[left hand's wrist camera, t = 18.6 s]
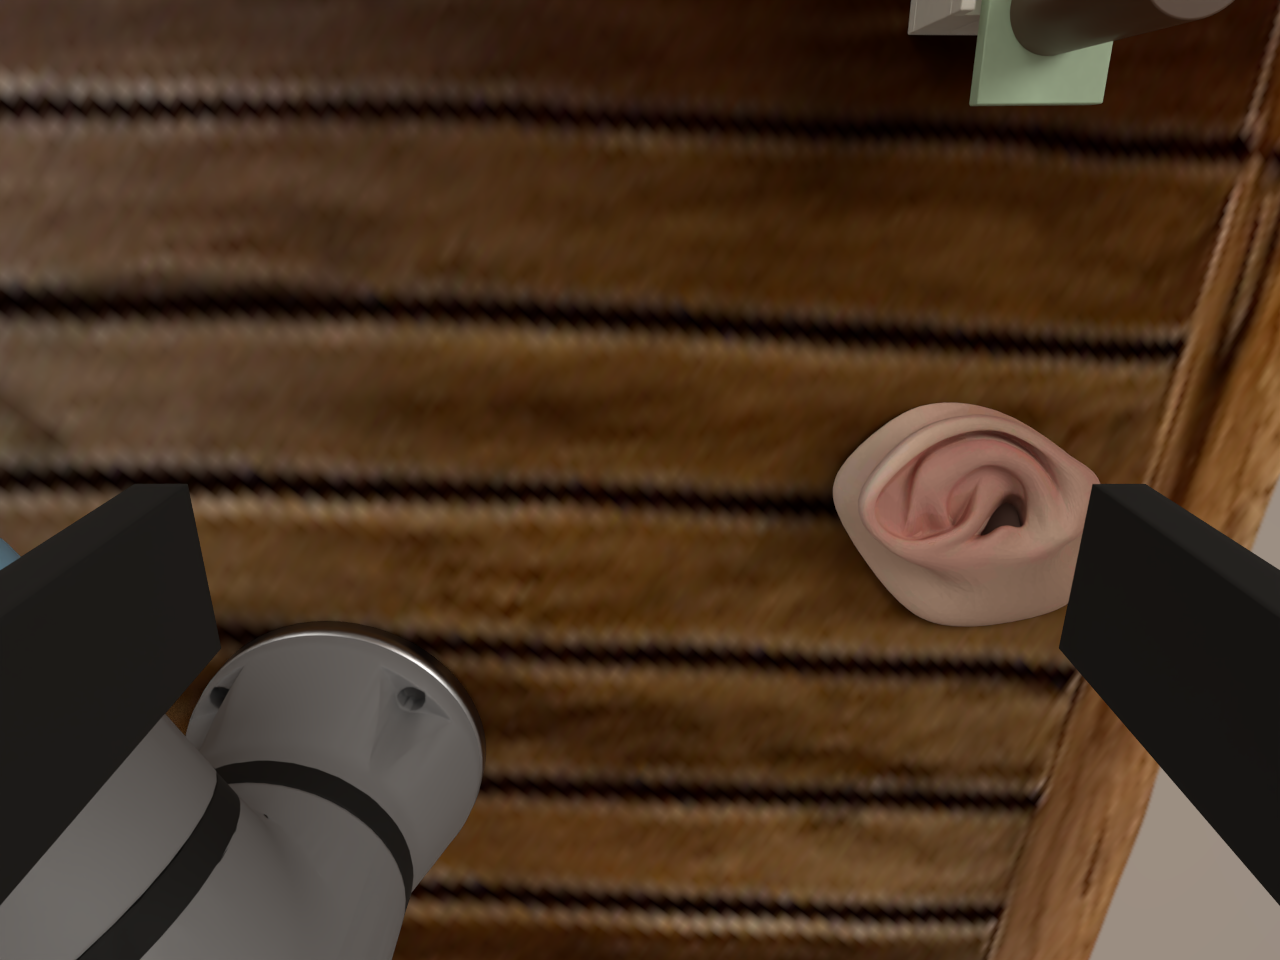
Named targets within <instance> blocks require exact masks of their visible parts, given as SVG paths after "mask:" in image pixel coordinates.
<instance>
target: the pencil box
mask: <svg viewBox="0 0 1280 960" xmlns="http://www.w3.org/2000/svg"><path fill="white" fill-rule="evenodd" d="M981 3H982V0H911V8H910V17H909V27H908V34H909V35H978V28H979V20H980V11H981Z"/></svg>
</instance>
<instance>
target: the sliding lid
mask: <svg viewBox="0 0 1280 960" xmlns="http://www.w3.org/2000/svg"><path fill="white" fill-rule="evenodd" d="M1233 1H1234V0H982V3H981V11H980V20H979V28H978V36H977V45H976V53H975V61H974V70H973V78H972V86H971V95H970V103H969V105H970V106H1022V105H1094V104H1101V103H1102V102H1103V96H1104V91H1105V85H1106V79H1107V73H1108V67H1109V61H1110V56H1111V50H1112V44H1113V41H1115V40H1119V39H1123V38H1127V37H1131V36H1135V35H1139V34H1143V33H1147V32H1151V31H1155V30H1159V29H1163V28H1167V27H1171V26H1175V25H1179V24H1183V23H1187V22H1191V21H1195V20H1199V19H1203V18H1206V17H1209V16H1212V15H1214V14H1216V13H1218V12H1220V11H1221V10H1223V9H1224V8H1226V7H1227V6H1228V5H1229V4H1231V3H1232V2H1233Z"/></svg>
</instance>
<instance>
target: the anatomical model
mask: <svg viewBox="0 0 1280 960" xmlns="http://www.w3.org/2000/svg"><path fill="white" fill-rule="evenodd" d="M1092 484H1100V482H1099V480H1098V478H1097V476H1096V475H1095V474H1094V472H1093V471H1091V470H1090V469H1089V468H1088V467H1087V466H1085V465H1084V464H1082V463H1081V462H1079V461H1078V460H1076V459H1074V458H1073V457H1071V456H1070V455H1068V454H1067V453H1066V452H1065V451H1064V450H1062V449H1061V448H1060V447H1058V446H1057V445H1056V444H1054V443H1053V442H1051V441H1050V440H1049V439H1047V438H1046V437H1045V436H1043V435H1042V434H1040V433H1038V432H1037V431H1035V430H1034V429H1032V428H1031V427H1029V426H1027V425H1026V424H1024V423H1022V422H1020V421H1018V420H1017V419H1015V418H1013V417H1010V416H1008V415H1006V414H1003V413H1001V412H998V411H996V410H993V409H989V408H985V407H982V406H977V405H971V404H964V403H936V404H929V405H924V406H920V407H917V408H914V409H911V410H909V411H907V412H905V413H903V414H901V415H899V416H898V417H896V418H894V419H893V420H891V421H889V422H888V423H887V424H885V425H884V426H883V427H881V428H880V429H879V430H877V431H876V432H875V433H874V434H872V435H871V436H870V437H869V438H868V439H867V440H865V441H864V442H863V443H862V444H861V445H860V446H859V447H858V448H857V449H856V450H855V451H854V452H853V453H852V454H851V455H850V456H849V457H848V459H847V460H846V461H845V463H844V464H843V465H842V467H841V468H840V470H839V472H838V473H837V476H836V478H835V481H834V486H833V500H834V504H835V508H836V510H837V513H838V515H839V517H840V520H841V522H842V524H843V526H844V528H845V529H846V531H847V533H848V535H849V536H850V538H851V540H852V541H853V543H854V545H855V546H856V548H857V549H858V551H859V552H860V554H861V555H862V557H863V558H864V560H865V561H866V562H867V564H868V565H869V567H870V568H871V569H872V571H873V572H874V573H875V575H876V576H877V577H878V579H879V580H880V581H881V582H882V583H883V585H884V586H885V587H886V588H887V590H888V591H889V592H890V593H891V594H892V595H893V596H894V597H895V598H896V599H897V600H898V601H899V602H900V603H901V604H902V605H903V606H905V607H906V608H907V609H908V610H910V611H911V612H912V613H914V614H915V615H917V616H919V617H921V618H923V619H925V620H927V621H930V622H933V623H937V624H942V625H949V626H985V625H994V624H1000V623H1007V622H1013V621H1018V620H1023V619H1028V618H1032V617H1035V616H1039V615H1043V614H1046V613H1049V612H1052V611H1054V610H1057V609H1059V608H1061V607H1063V606H1065V605H1066V604H1068V601H1069V596H1070V591H1071V587H1072V582H1073V577H1074V572H1075V567H1076V562H1077V557H1078V552H1079V547H1080V543H1081V538H1082V533H1083V528H1084V523H1085V518H1086V513H1087V508H1088V503H1089V499H1090V494H1091V489H1092Z"/></svg>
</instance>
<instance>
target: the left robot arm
mask: <svg viewBox="0 0 1280 960" xmlns="http://www.w3.org/2000/svg"><path fill="white" fill-rule="evenodd" d="M220 649H221V645H220V640H219V635H218V631H217V626H216V621H215V616H214V611H213V606H212V601H211V596H210V591H209V587H208V582H207V577H206V572H205V567H204V562H203V557H202V552H201V547H200V543H199V538H198V533H197V528H196V523H195V518H194V513H193V508H192V504H191V499H190V494H189V489H188V484H134V485H132V486H131V487H129V488H128V489H126V490H125V491H123V492H121V493H120V494H118V495H117V496H115V497H114V498H112V499H111V500H109V501H107V502H106V503H104V504H103V505H101V506H100V507H98V508H97V509H95V510H93V511H92V512H90V513H89V514H87V515H86V516H84V517H82V518H81V519H79V520H78V521H76V522H75V523H73V524H72V525H70V526H68V527H67V528H65V529H64V530H62V531H61V532H59V533H58V534H56V535H54V536H53V537H51V538H50V539H48V540H47V541H45V542H43V543H42V544H40V545H39V546H37V547H36V548H34V549H33V550H31V551H29V552H28V553H26V554H25V555H23V556H22V557H20V556H19V555H18V554H17V553H16V552H15V551H14V550H13V549H12V548H11V547H10V546H9V545H8V544H7V543H6V542H5V541H4V540H3V539H1V538H0V960H392V956H393V953H394V949H395V946H396V943H397V939H398V936H399V932H400V929H401V925H402V922H403V918H404V914H405V911H406V908H407V905H408V902H409V899H410V896H411V893H412V891H413V890H414V889H415V887H416V886H417V885H418V884H419V882H420V881H421V880H422V879H423V877H424V876H425V875H426V874H427V872H428V871H429V870H430V869H431V867H432V866H433V865H434V863H435V862H436V861H437V860H438V858H439V857H440V856H441V854H442V853H443V852H444V850H445V849H446V848H447V846H448V845H449V844H450V843H451V841H452V840H453V839H454V838H455V837H456V835H457V834H458V833H459V831H460V830H461V828H462V827H463V825H464V823H465V822H466V820H467V818H468V816H469V814H470V812H471V809H472V807H473V805H474V803H475V801H476V798H477V795H478V792H479V788H480V785H481V781H482V777H483V772H484V768H485V760H486V742H485V735H484V730H483V726H482V722H481V719H480V717H479V714H478V711H477V709H476V707H475V705H474V703H473V701H472V699H471V698H470V696H469V694H468V693H467V691H466V690H465V688H464V687H463V686H462V684H461V683H460V682H459V681H458V679H457V678H456V677H455V676H454V675H453V674H452V673H451V672H450V671H449V670H448V669H447V668H446V667H445V666H444V665H443V664H442V663H441V662H439V661H438V660H437V659H436V658H434V657H433V656H432V655H430V654H429V653H428V652H426V651H425V650H423V649H421V648H420V647H418V646H416V645H415V644H413V643H411V642H409V641H407V640H405V639H403V638H401V637H399V636H397V635H394V634H391V633H389V632H386V631H383V630H380V629H377V628H373V627H370V626H365V625H360V624H355V623H347V622H334V621H320V622H307V623H300V624H295V625H290V626H286V627H283V628H279V629H276V630H273V631H271V632H268V633H266V634H264V635H262V636H259V637H258V638H256V639H254V640H253V641H251V642H249V643H248V644H246V645H245V646H243V647H242V648H241V649H239V650H238V651H237V652H236V653H235V654H234V655H233V656H232V657H230V658H229V659H228V661H227V662H226V663H225V664H224V665H223V666H222V668H221V669H220V670H219V671H218V672H217V674H216V675H215V676H214V677H213V679H212V680H211V681H210V682H209V684H208V685H207V687H206V688H205V690H204V691H203V694H202V696H201V697H200V699H199V701H198V703H197V705H196V707H195V709H194V711H193V713H192V716H191V719H190V722H189V725H188V729H187V732H186V736H184V734H183V733H182V732H181V731H180V730H179V729H178V728H177V727H176V725H175V724H174V723H173V722H172V721H171V720H170V719H169V718H168V716H167V715H166V714H165V713H166V712H167V711H168V710H169V708H170V707H171V706H172V705H173V704H174V703H175V701H176V700H177V699H178V698H179V697H180V696H181V694H182V693H183V692H184V691H185V690H186V689H187V687H188V686H189V685H190V684H191V683H192V682H193V680H194V679H195V678H196V677H197V676H198V675H199V673H200V672H201V671H202V670H203V669H204V668H205V666H206V665H207V664H208V663H209V662H210V661H211V659H212V658H213V657H214V656H215V655H216V654H217V652H218V651H219V650H220ZM1059 649H1060V650H1061V651H1062V652H1063V654H1064V655H1065V656H1066V657H1067V658H1068V659H1069V661H1070V662H1071V663H1072V664H1073V665H1074V666H1075V668H1076V669H1077V670H1078V671H1079V672H1080V673H1081V675H1082V676H1083V677H1084V678H1085V679H1086V680H1087V682H1088V683H1089V684H1090V685H1091V686H1092V687H1093V689H1094V690H1095V691H1096V692H1097V693H1098V694H1099V696H1100V697H1101V698H1102V699H1103V700H1104V701H1105V703H1106V704H1107V705H1108V706H1109V707H1110V708H1111V710H1112V711H1113V712H1114V713H1115V714H1116V715H1117V717H1118V718H1119V719H1120V720H1121V721H1122V722H1123V724H1124V725H1125V726H1126V727H1127V728H1128V729H1129V731H1130V732H1131V733H1132V734H1133V735H1134V736H1135V737H1136V739H1137V740H1138V741H1139V742H1140V743H1141V744H1142V746H1143V747H1144V748H1145V749H1146V750H1147V751H1148V753H1149V754H1150V755H1151V756H1152V757H1153V758H1154V760H1155V761H1156V762H1157V763H1158V764H1159V765H1160V767H1161V768H1162V769H1163V770H1164V771H1165V772H1166V774H1167V775H1168V776H1169V777H1170V778H1171V779H1172V781H1173V782H1174V783H1175V784H1176V785H1177V786H1178V788H1179V789H1180V790H1181V791H1182V792H1183V793H1184V795H1185V796H1186V797H1187V798H1188V799H1189V800H1190V802H1191V803H1192V804H1193V805H1194V806H1195V807H1196V809H1197V810H1198V811H1199V812H1200V813H1201V814H1202V816H1203V817H1204V818H1205V819H1206V820H1207V821H1208V823H1209V824H1210V825H1211V826H1212V827H1213V828H1214V830H1215V831H1216V832H1217V833H1218V834H1219V835H1220V837H1221V838H1222V839H1223V840H1224V841H1225V842H1226V844H1227V845H1228V846H1229V847H1230V848H1231V849H1232V851H1233V852H1234V853H1235V854H1236V855H1237V856H1238V857H1239V859H1240V860H1241V861H1242V862H1243V863H1244V865H1245V866H1246V867H1247V868H1248V869H1249V870H1250V871H1251V873H1252V874H1253V875H1254V876H1255V877H1256V878H1257V880H1258V881H1259V882H1260V883H1261V884H1262V885H1263V887H1264V888H1265V889H1266V890H1267V891H1268V892H1269V894H1270V895H1271V896H1272V897H1273V898H1274V899H1275V901H1276V902H1277V903H1278V904H1279V905H1280V570H1279V569H1277V568H1276V567H1274V566H1272V565H1271V564H1269V563H1268V562H1266V561H1265V560H1263V559H1261V558H1260V557H1258V556H1257V555H1255V554H1254V553H1252V552H1251V551H1249V550H1247V549H1246V548H1244V547H1243V546H1241V545H1240V544H1238V543H1237V542H1235V541H1233V540H1232V539H1230V538H1229V537H1227V536H1226V535H1224V534H1222V533H1221V532H1219V531H1218V530H1216V529H1215V528H1213V527H1212V526H1210V525H1208V524H1207V523H1205V522H1204V521H1202V520H1201V519H1199V518H1198V517H1196V516H1194V515H1193V514H1191V513H1190V512H1188V511H1187V510H1185V509H1183V508H1182V507H1180V506H1179V505H1177V504H1176V503H1174V502H1173V501H1171V500H1169V499H1168V498H1166V497H1165V496H1163V495H1162V494H1160V493H1159V492H1157V491H1155V490H1154V489H1152V488H1151V487H1149V486H1148V485H1146V484H1092V489H1091V494H1090V499H1089V503H1088V508H1087V513H1086V518H1085V523H1084V528H1083V533H1082V538H1081V543H1080V547H1079V552H1078V557H1077V562H1076V567H1075V572H1074V577H1073V582H1072V587H1071V591H1070V596H1069V601H1068V606H1067V611H1066V616H1065V621H1064V626H1063V631H1062V635H1061V640H1060V645H1059Z"/></svg>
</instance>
